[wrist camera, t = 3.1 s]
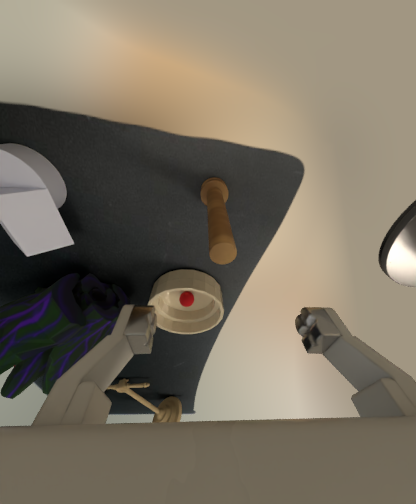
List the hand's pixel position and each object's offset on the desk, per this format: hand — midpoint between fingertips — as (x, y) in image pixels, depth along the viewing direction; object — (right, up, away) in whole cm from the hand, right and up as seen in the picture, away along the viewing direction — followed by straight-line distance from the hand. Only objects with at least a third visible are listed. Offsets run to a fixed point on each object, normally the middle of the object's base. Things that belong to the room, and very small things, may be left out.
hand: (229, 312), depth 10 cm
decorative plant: (-31, -7, +31) cm, 44 cm away
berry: (-6, -7, +28) cm, 30 cm away
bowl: (-6, -6, +30) cm, 31 cm away
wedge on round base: (-26, +12, +17) cm, 33 cm away
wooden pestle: (0, +12, +17) cm, 21 cm away
